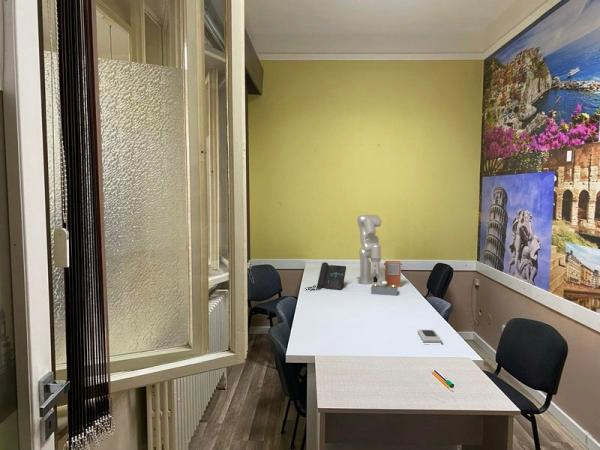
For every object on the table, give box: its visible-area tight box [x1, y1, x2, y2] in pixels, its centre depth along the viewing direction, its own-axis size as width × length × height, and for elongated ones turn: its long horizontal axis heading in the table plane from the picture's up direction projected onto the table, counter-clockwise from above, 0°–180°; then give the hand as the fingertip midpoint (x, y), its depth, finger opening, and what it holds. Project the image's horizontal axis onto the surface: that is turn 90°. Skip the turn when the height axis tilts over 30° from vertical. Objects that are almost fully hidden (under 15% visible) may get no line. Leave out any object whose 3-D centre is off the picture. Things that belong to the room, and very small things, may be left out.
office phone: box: [304, 261, 347, 291], centre depth 332 cm, size 29×28×20 cm
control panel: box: [383, 260, 403, 288], centre depth 337 cm, size 21×7×15 cm
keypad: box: [417, 329, 443, 344], centre depth 218 cm, size 10×4×15 cm
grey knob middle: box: [381, 280, 387, 288], centre depth 314 cm, size 4×4×6 cm
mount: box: [370, 284, 399, 296], centre depth 315 cm, size 20×10×5 cm, turn 74°
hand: (375, 282), depth 317 cm, fingers closed
